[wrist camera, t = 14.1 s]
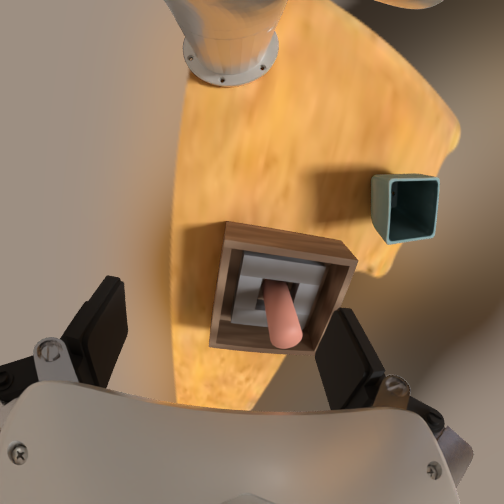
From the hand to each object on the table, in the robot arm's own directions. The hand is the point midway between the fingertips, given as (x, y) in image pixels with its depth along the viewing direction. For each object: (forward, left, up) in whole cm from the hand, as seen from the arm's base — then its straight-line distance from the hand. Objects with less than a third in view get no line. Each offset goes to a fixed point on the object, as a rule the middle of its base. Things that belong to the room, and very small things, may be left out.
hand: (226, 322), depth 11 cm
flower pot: (-4, +23, -29) cm, 37 cm away
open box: (+14, +9, -28) cm, 33 cm away
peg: (+14, +9, -27) cm, 32 cm away
